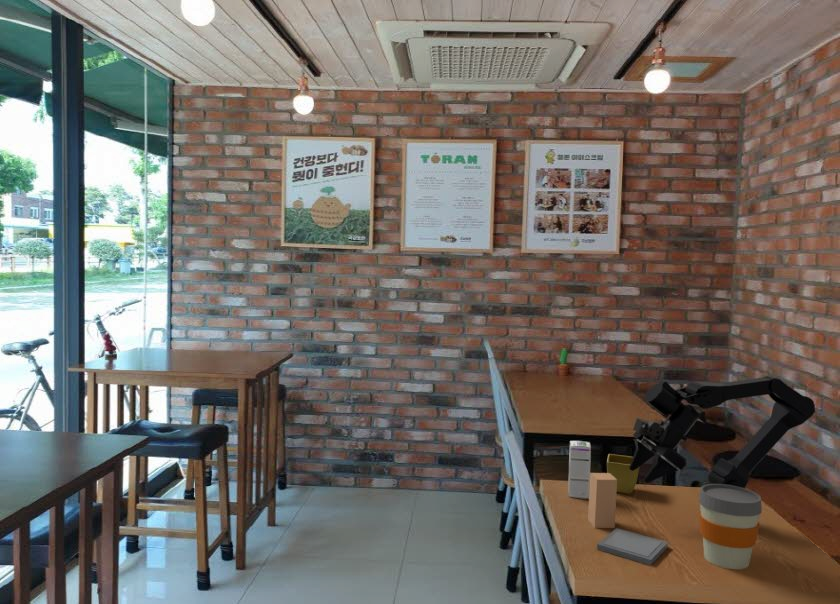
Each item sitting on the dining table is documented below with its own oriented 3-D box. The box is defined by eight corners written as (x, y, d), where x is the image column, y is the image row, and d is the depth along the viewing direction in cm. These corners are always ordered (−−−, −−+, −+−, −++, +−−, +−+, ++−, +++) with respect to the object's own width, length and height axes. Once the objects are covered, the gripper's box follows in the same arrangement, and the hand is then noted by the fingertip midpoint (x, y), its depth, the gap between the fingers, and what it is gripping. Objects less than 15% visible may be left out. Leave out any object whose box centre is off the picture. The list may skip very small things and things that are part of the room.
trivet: (667, 547, 151) (668, 541, 151) (650, 565, 141) (650, 559, 141) (616, 533, 158) (616, 527, 158) (596, 549, 148) (597, 543, 148)
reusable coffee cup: (755, 579, 136) (759, 508, 136) (690, 562, 143) (694, 495, 142) (760, 557, 147) (765, 491, 146) (700, 543, 154) (704, 479, 153)
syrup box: (589, 499, 180) (592, 447, 180) (567, 497, 182) (570, 445, 181) (588, 492, 186) (591, 441, 185) (567, 490, 187) (569, 439, 186)
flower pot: (638, 487, 191) (639, 457, 191) (637, 497, 183) (639, 465, 183) (606, 483, 194) (608, 453, 194) (605, 493, 186) (606, 461, 185)
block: (607, 520, 166) (609, 473, 165) (614, 528, 161) (617, 479, 160) (587, 519, 166) (590, 472, 165) (594, 527, 161) (597, 479, 160)
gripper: (637, 398, 172) (600, 445, 172) (668, 415, 153) (627, 468, 153) (669, 423, 173) (632, 471, 173) (704, 443, 154) (663, 496, 154)
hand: (637, 475), depth 163 cm, fingers open, 9 cm apart
